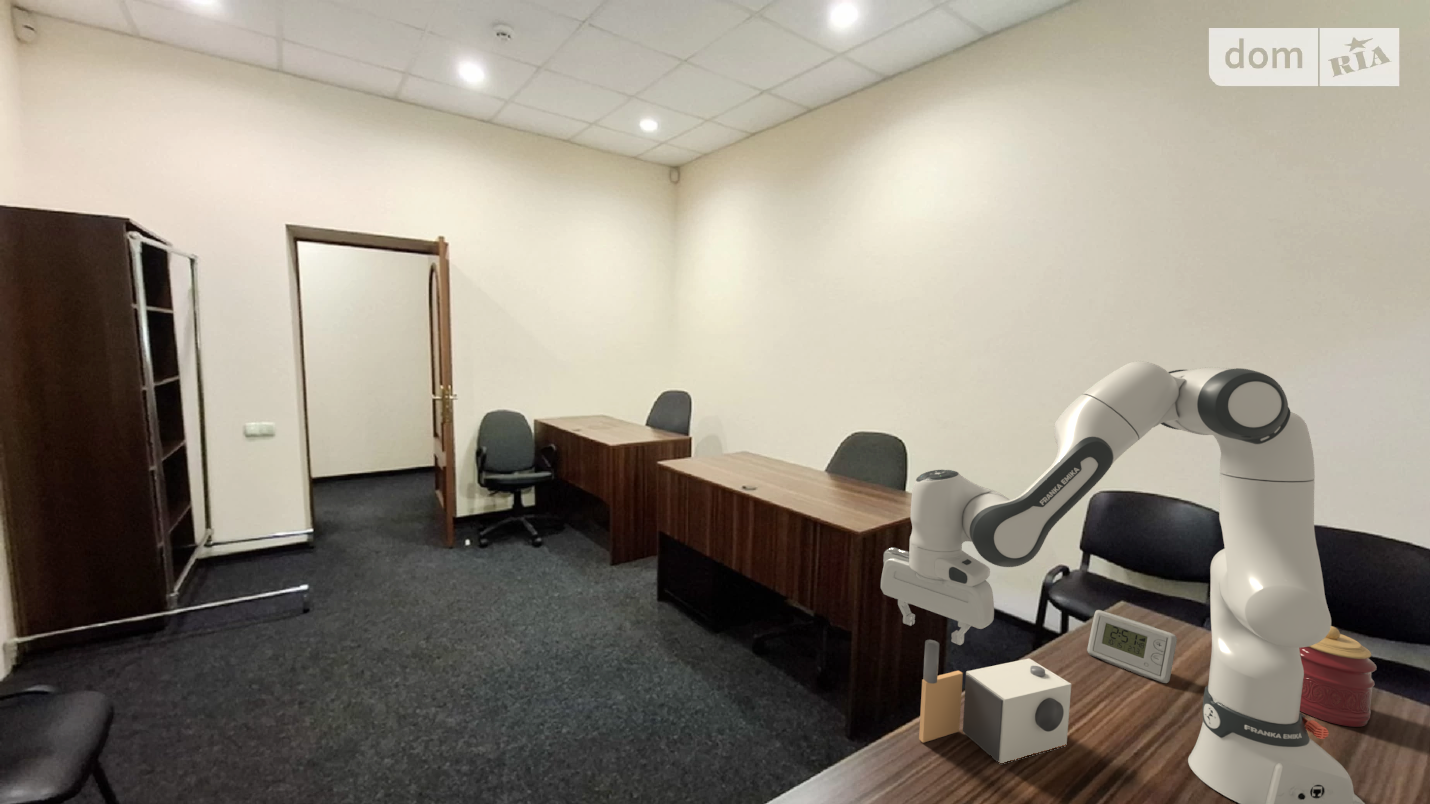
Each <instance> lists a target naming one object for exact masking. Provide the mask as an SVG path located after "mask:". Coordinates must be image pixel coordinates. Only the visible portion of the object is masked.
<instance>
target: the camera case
mask: <svg viewBox="0 0 1430 804" xmlns="http://www.w3.org/2000/svg"><path fill="white" fill-rule="evenodd" d="M1071 691H1072V683H1071V682H1069V681H1068V680H1065V679H1064V678H1062V677H1061V676H1059V675H1058V674H1056V673H1054V672H1052V671H1051V670H1050V669H1047V668H1046V667H1044V666H1042V665H1041V664H1039V663H1037V662H1036V661H1035V660H1033V659H1031V658H1024V659H1019V660H1015V661H1010V662H1005V663H1000V664H996V665H992V666H985V667H981V668H976V669H972V670H967V671H966V672H965V688H964V702H963V703H964V704H963V705H964V706H963V718H962V719H963V720H962V732H963V734H964V735H966V736H967V737H968V738H969V739H971V740H972V741H973V742H974V743H975V744H977V746H979V747H980V748H981V749H982V750H983V751H984V752H986V754H988V755H989V756H990V755H991V756H992V757H991V756H990V757H991V758H992V759H993V760H994V761H996V762H997V761H998V762H1000V763H1004V762H1007V761H1010V760H1014V759H1015V761H1017V760H1016V759H1017V758H1021V757H1024V756H1027V755H1031V754H1033V753H1038V752H1041V751H1044V750H1049V749H1052V748H1055V747H1058V746H1062V745H1065V744H1066V745H1067V742H1068V731H1069V718H1070V706H1071V693H1072V692H1071ZM998 762H997V763H998ZM1000 763H999V764H1000ZM1004 764H1005V763H1004Z"/></svg>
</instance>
